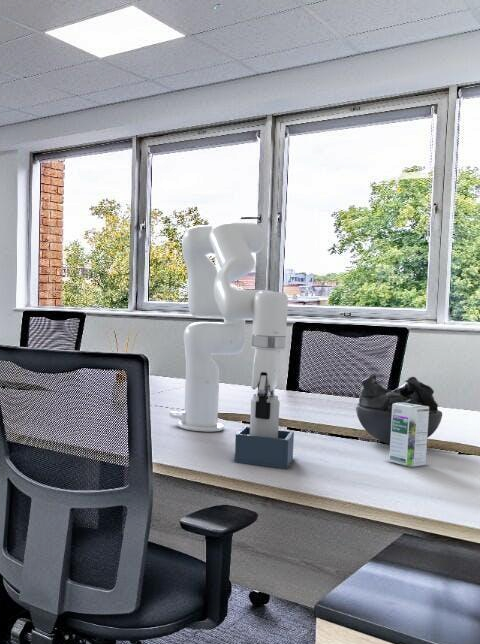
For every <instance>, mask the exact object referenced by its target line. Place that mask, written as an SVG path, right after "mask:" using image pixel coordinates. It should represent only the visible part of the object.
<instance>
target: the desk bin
mask: <svg viewBox="0 0 480 644" xmlns="http://www.w3.org/2000/svg"><path fill="white" fill-rule="evenodd" d="M294 435H295V432H294V431H291V430H282V429H278V438H270V437H262V436H253V435H250V426H245V425H244V426H242V427H241V428H240V429H239V430H238V431H237V432H236V433H235V441H234V443H235V444H234V463H241V464H246V465H255V466H261V467H268V468H277V469H283V470H284V469H285V470H288V468H289V467H290V465H291V463H292V461H293V459H294V439H295V436H294Z"/></svg>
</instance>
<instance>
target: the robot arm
mask: <svg viewBox="0 0 480 644" xmlns="http://www.w3.org/2000/svg"><path fill="white" fill-rule="evenodd" d="M265 244H266V234H265V232H264V229H263V228H262V226H261V225H259V224H257V223H255V222H222V223H219V224H217V225H213V224H212V225H208V224H207V225H206V224H205V225H204V224H203V225H195V226H191V227H188V228H187V229H186V230H185V231H184V233H183V235H182V238H181V253H182V257H183V262H184V264H185V265H184V266H185V267H186V272H187V273H186V274H187V305H188V310H189V313H190V315H191V316H192V317H195V318H204V319H223V322H215V321H214V322H213V321H212V322H210V321H198V322H193V323H191V324H189V325H187V326H186V328H185V329H184V331H183V344H184V353H185V383H184V384H185V385H184V388H185V389H184V410H182V411H180V412H178V411H172V410H171V411H170V413H169V418H171V419H176V420H180V421H179V422H178V427H179V428H181V429H184V430H187V431H192V432H193V431H194V432H202V433H203V432H205V433H206V432H208V433H209V432H210V433H212V432H213V433H214V432H221V431H223V430H224V425H223V424H222V423H219V395H220V369H219V368H220V367H219V365H218V364H217V362H216V361H215V359H214V358H213V357H212V356H215V355H219V356H220V355H222V356H223V355H225V356H226V355H231V356H232V355H233V356H234V355H238V354H240V353H242V352H243V350H244V348H245V347H246V346H245V345H246V320H250V321H251V320H252V331H251V349H254V355H253V363H252V364H253V365H252V375H251V376H252V377H251V389H252V390H254V391H255V390H256V389H257V391H256V394H257V401H256V410H255V417H256V418H259V419H270V406H271V403H269V401H270V395H275V389H276V388H277V387H278V385H279V373H280V361H281V360H280V359H281V358H280V357H281V351H285V350H286V345H287V343H286V341H287V326H288V325H287V324H288V307H289V305H288V304H289V297H288V295H287V294H286V293H285V292H281V291H272V290H268V289H239V288H238V287H235V286H231V283H234V282H235V281H238V280H240V279H243V278H245V277H246V276H248V275H249V274H250V273H251V272H252V271H253V270H254V268H255V265H256V261H255V258H254V256H253V255H256V254H259V253H260V252H262V250H263V249H264V248H265ZM207 255H213V256H215V257H216V260H217V262H218V265H219V267H220V269H219V271H218V270H217V267H216V265H215V264H214V262H213V261H212V260H211V259H210V258H209V257H208V256H207Z"/></svg>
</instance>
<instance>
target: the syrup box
mask: <svg viewBox="0 0 480 644" xmlns="http://www.w3.org/2000/svg"><path fill="white" fill-rule="evenodd" d="M428 418H429V406H421V405H415V404H409V403H394V404H392V418H391V438H390V444H389V455H388V462H389V463H394V464H397V465H402V466H404V467H405V466H406V467H409V468H414V467H422V466H426V465H427V451H428V450H427V449H428V438H427V434H428Z"/></svg>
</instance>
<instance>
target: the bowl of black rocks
mask: <svg viewBox="0 0 480 644" xmlns="http://www.w3.org/2000/svg"><path fill="white" fill-rule="evenodd" d="M404 381H405V383H403V384H402V385H401V386H399V387H397V388H395V389H394V390H390V389H388V388H387V389H386V388H384V387H383V386H382V385H381V384H380V383H379V382H378V381H377V375H376V374H375V373H370V374H369V375H368V376H367V377H366V378H364V379H363V380H362V381H361V383H360V384H361V385H362V387H361V389H360V394H359V397H358V402H357V403H356V405H355V412H356V416H357V418H358V422H359V423H360V425H361V426H362V428H363V429H364V430H365V432H367V433H368V434H369V435H370V436H372V437H373V438H374V439H376V440H378V441H379V442H381V443H384V444H387V445H390V438H391V418H392V404H394V403H409V404H415V405H421V406H429V418H428V434H427V439H428V438H430V437H431V436H432V435H433V434H434V433H435V432H436V430H437V429H438V428H439V426H440V425H441V422H442V419H443V412H442V411H441V410H438V409H439V408H438V407H439V404H438V403H437V401H436V400H435V398H434V393H435V390H434V389H433V388H432V387H431V386H430V385H427V384H425V383H423V382H422V381H419V380H418V378H417V377H416V376H410V377H408V378H407V379H406V380H404Z"/></svg>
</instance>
